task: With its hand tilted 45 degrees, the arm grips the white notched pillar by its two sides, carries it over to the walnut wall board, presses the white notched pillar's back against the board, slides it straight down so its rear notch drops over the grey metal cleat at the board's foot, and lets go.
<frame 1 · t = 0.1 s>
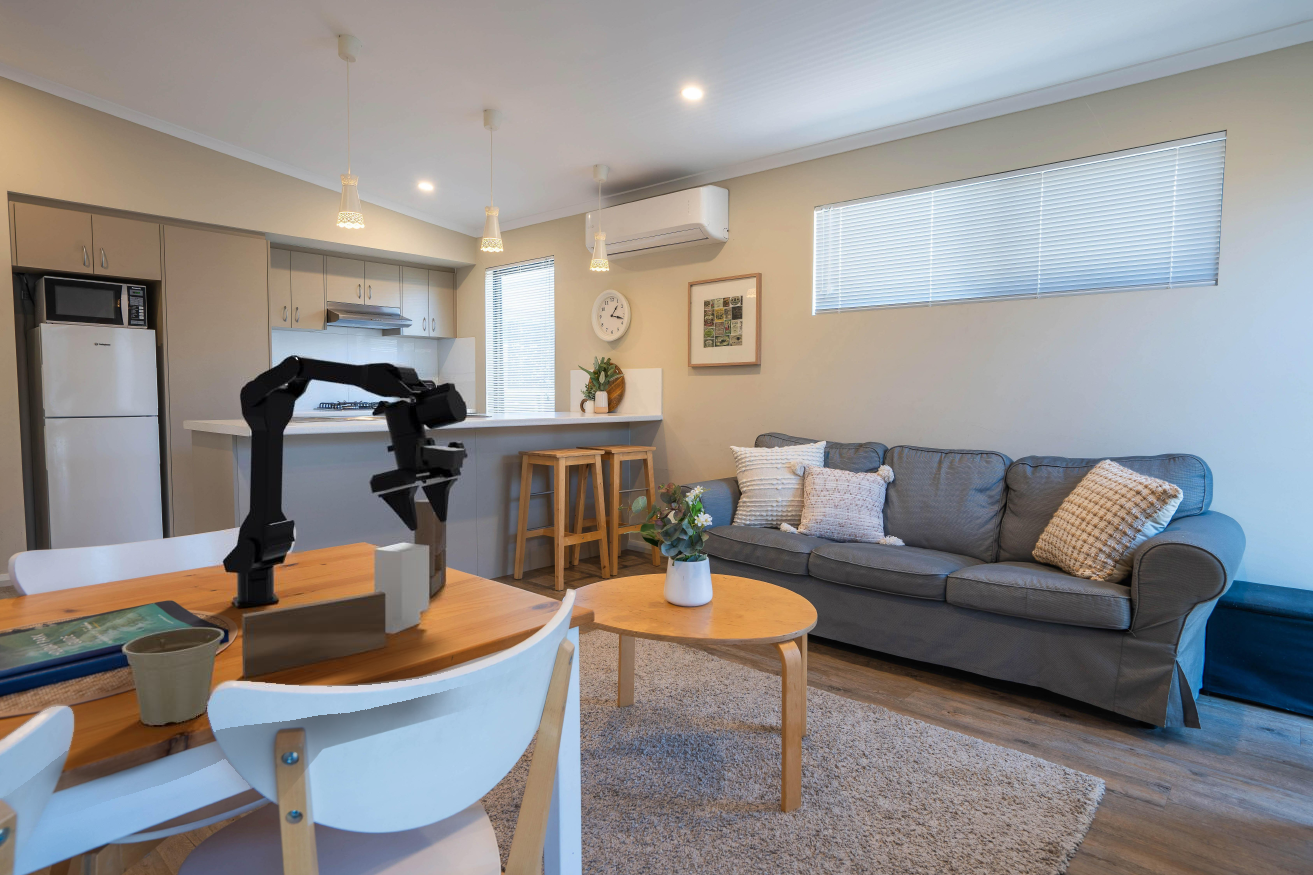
hand: (429, 525, 114), 15 cm above the table, tool pointing down, fingers open, 9 cm apart
white notched pillar: (402, 627, 109), on the table
wall board: (318, 659, 94), on the table
flower pot: (175, 715, 77), on the table
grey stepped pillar: (429, 591, 131), on the table
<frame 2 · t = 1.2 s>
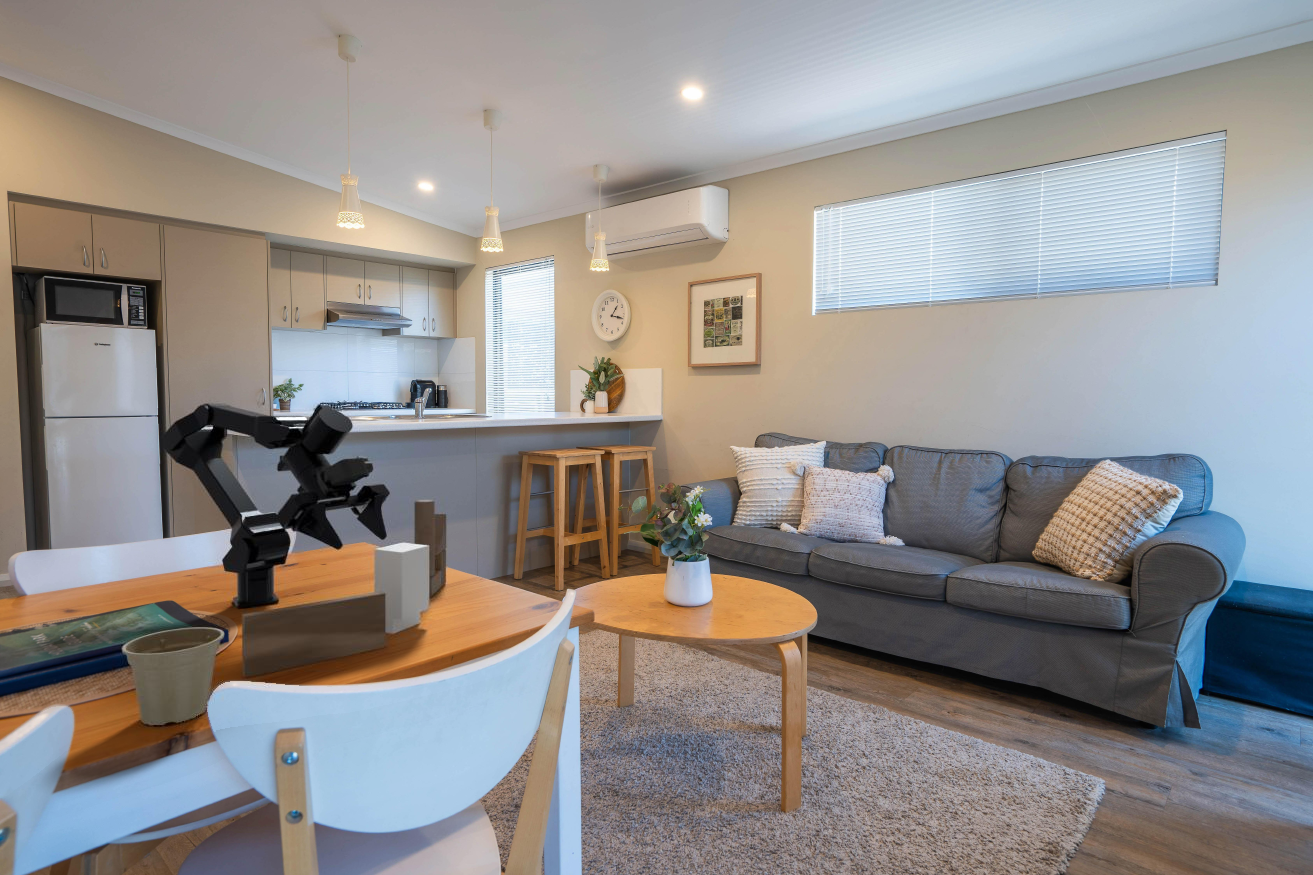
hand: (363, 542, 111), 13 cm above the table, tool tilted 45°, fingers open, 9 cm apart
nothing on the table moved.
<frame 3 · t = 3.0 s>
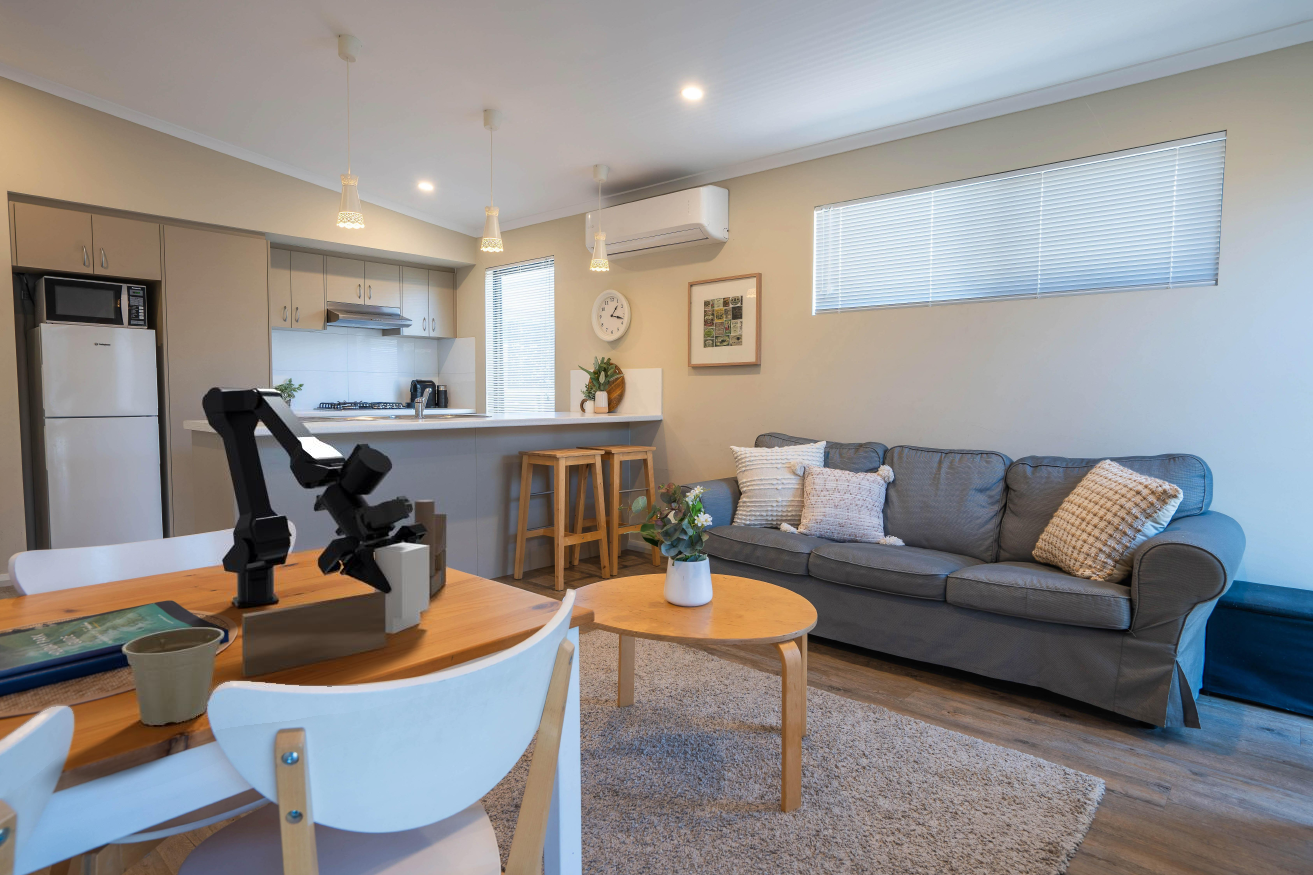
hand: (404, 586, 108), 7 cm above the table, tool tilted 45°, fingers closed on white notched pillar, 6 cm apart
white notched pillar: (402, 627, 109), on the table, touching gripper
everything else where it was.
when the fingers open (8 cm above the table, at t = 7.4 s): white notched pillar drops 1 cm, on the table.
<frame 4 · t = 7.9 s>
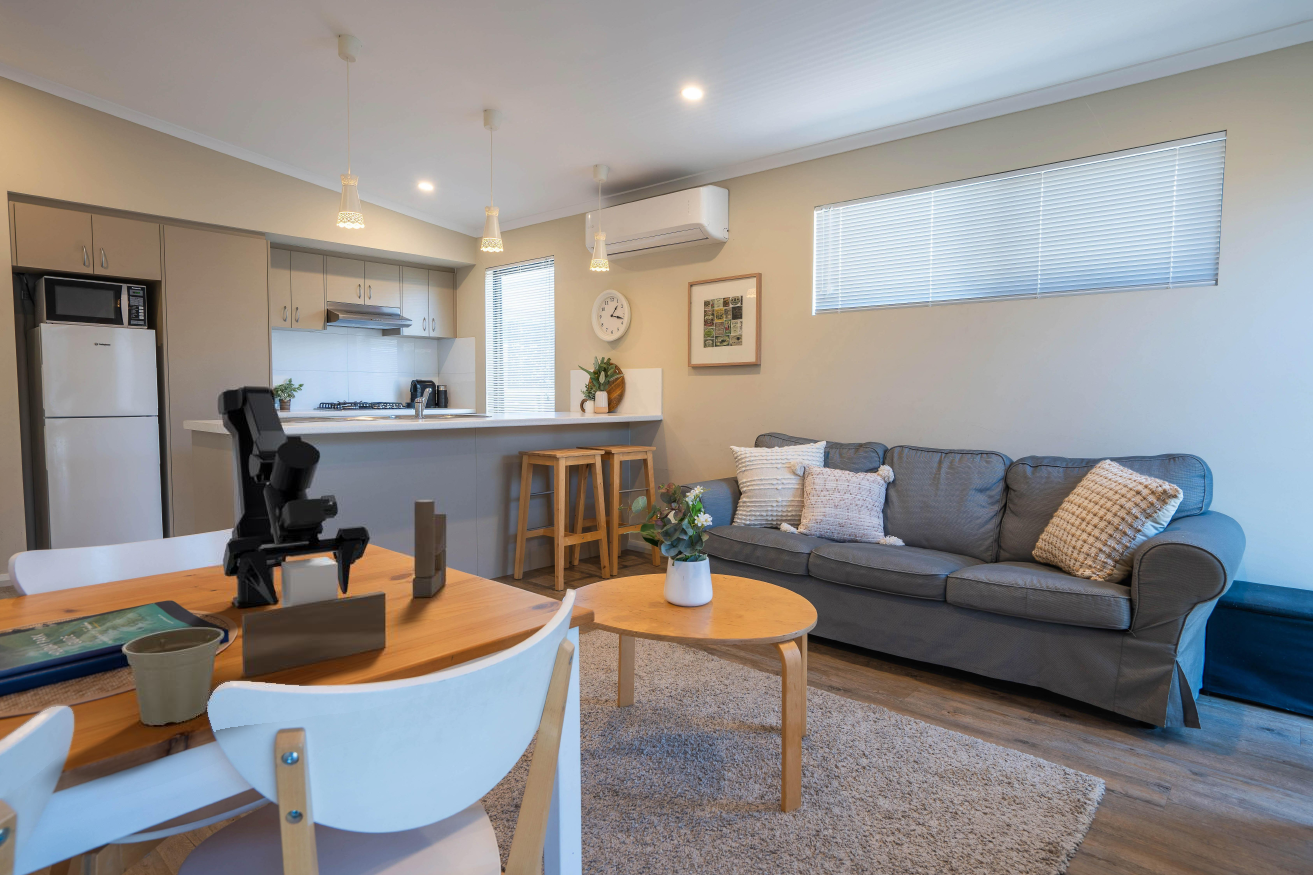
hand: (311, 598, 96), 8 cm above the table, tool tilted 45°, fingers open, 9 cm apart
white notched pillar: (309, 652, 97), on the table
everything else where it was.
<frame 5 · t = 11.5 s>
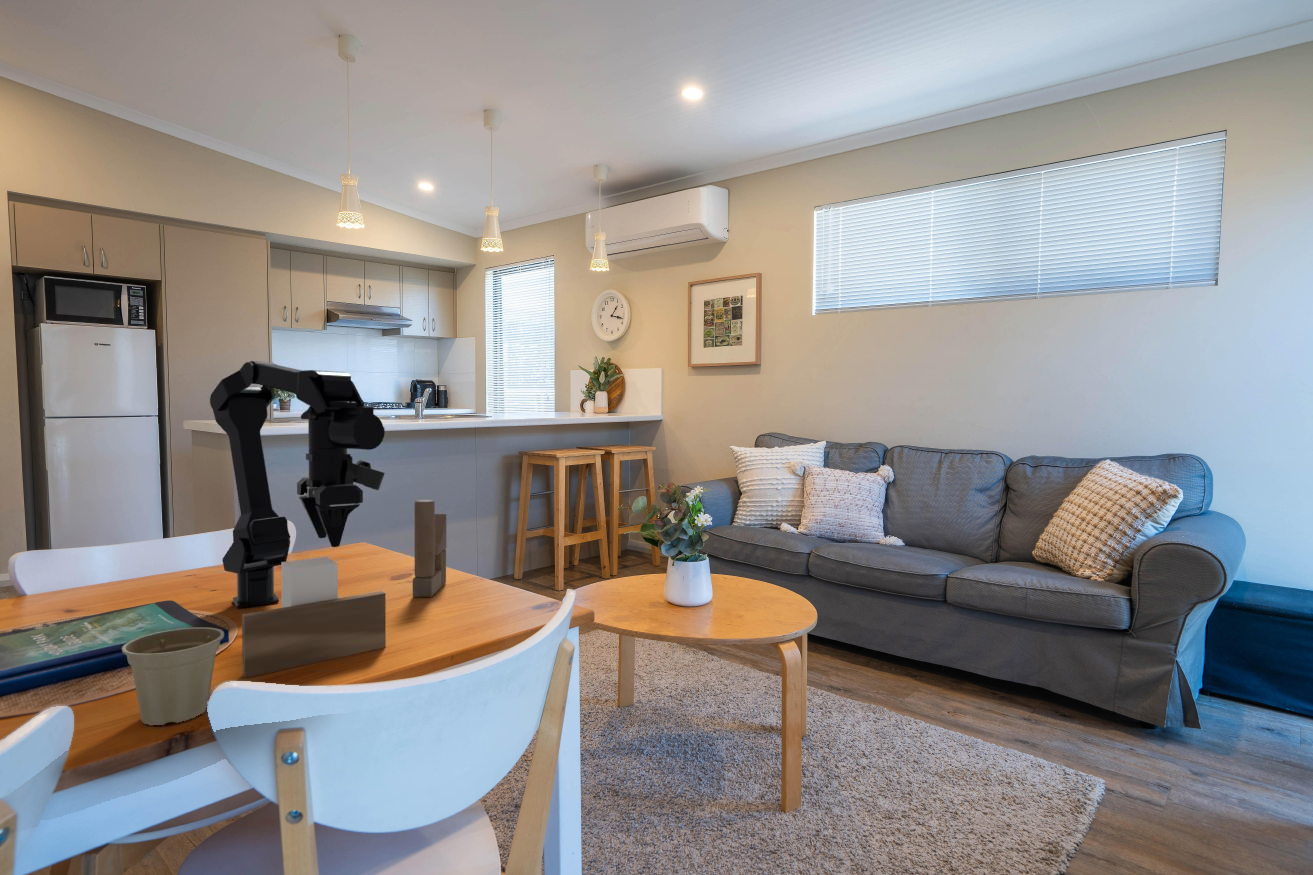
hand: (328, 542, 111), 13 cm above the table, tool pointing down, fingers open, 9 cm apart
nothing on the table moved.
at the end: white notched pillar 0.4 cm from the target spot on the table beside the wall board, on the table; white notched pillar tilted 0°; the gripper is holding nothing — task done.
